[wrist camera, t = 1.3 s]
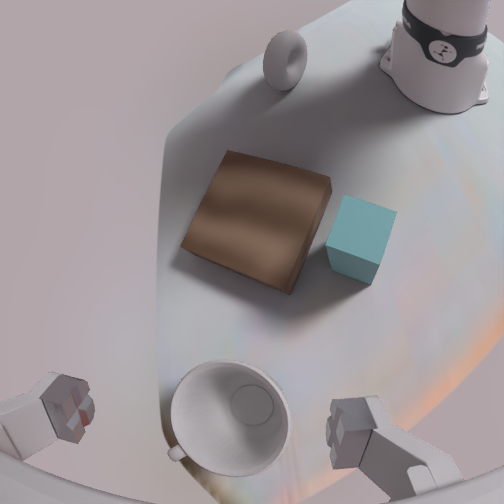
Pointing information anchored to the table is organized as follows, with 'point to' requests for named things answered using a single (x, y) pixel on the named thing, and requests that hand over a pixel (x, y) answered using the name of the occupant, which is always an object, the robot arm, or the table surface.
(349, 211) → the teal block
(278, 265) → the oak base
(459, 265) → the table surface
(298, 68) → the donut
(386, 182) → the table surface
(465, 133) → the table surface
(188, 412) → the teacup
